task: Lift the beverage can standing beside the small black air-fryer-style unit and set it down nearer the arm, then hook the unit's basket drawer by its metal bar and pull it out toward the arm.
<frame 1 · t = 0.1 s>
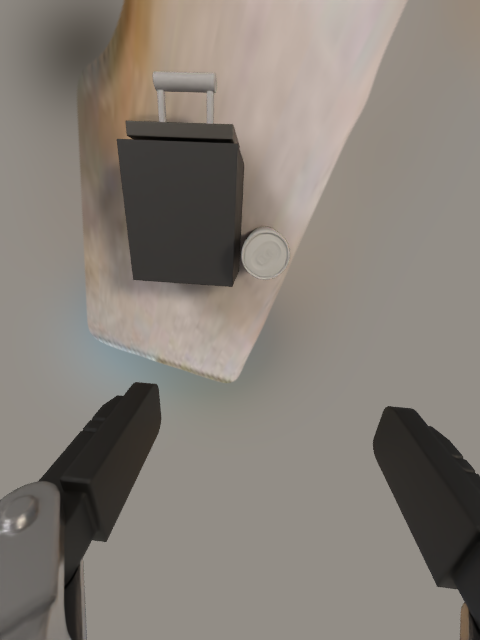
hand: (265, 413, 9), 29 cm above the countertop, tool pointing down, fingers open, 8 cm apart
fryer: (199, 219, 34), on the countertop
basket: (190, 175, 28), point 5 cm above the countertop, slide at 0.5 cm
beverage can: (263, 244, 35), on the countertop
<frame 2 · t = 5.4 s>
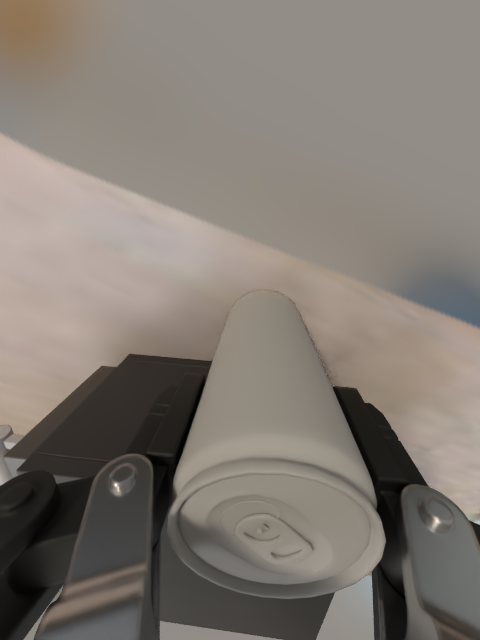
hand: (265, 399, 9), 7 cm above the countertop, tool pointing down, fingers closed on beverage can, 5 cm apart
fryer: (219, 423, 20), on the countertop
basket: (138, 469, 16), point 5 cm above the countertop, slide at 0.5 cm
beverage can: (263, 321, 16), on the countertop, touching gripper
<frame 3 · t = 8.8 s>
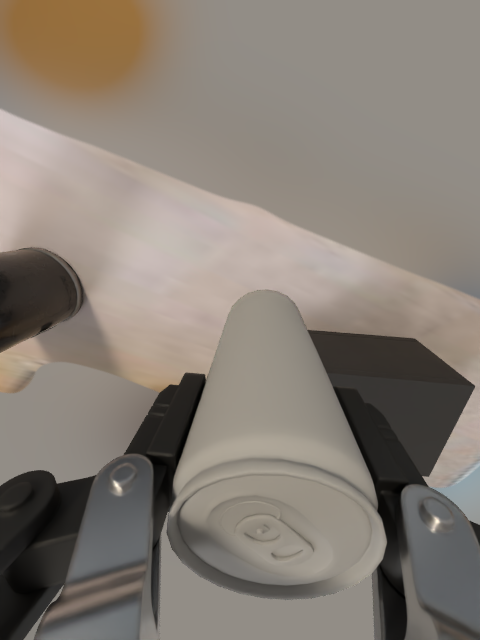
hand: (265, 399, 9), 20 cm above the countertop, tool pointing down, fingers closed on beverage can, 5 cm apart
fryer: (346, 373, 32), on the countertop
beverage can: (264, 321, 16), point 13 cm above the countertop, touching gripper
when the fingers open (7 cm above the countertop, at t = 12.2 s): beverage can stays where it is, on the countertop.
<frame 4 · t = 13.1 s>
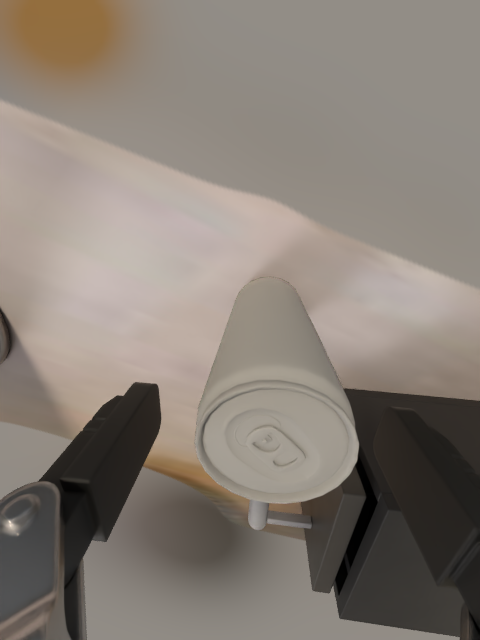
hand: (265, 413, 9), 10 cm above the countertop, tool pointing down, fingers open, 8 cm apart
fryer: (401, 447, 22), on the countertop
basket: (368, 494, 18), point 5 cm above the countertop, slide at 0.5 cm
beverage can: (267, 306, 18), on the countertop
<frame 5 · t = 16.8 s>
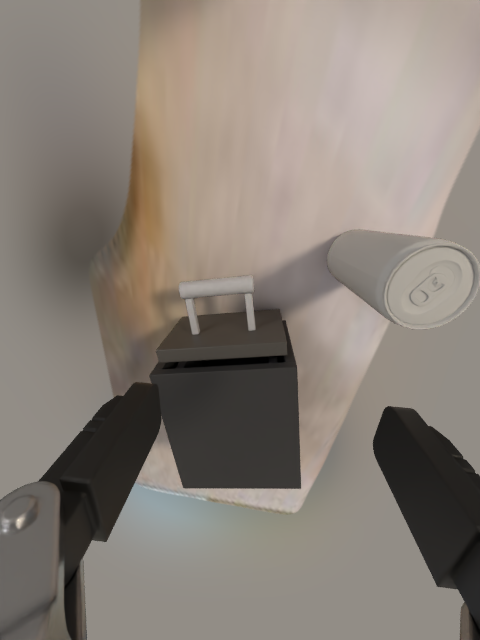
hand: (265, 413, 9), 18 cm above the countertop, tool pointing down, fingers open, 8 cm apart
fryer: (239, 375, 30), on the countertop
basket: (230, 363, 24), point 5 cm above the countertop, slide at 0.5 cm
beverage can: (350, 255, 24), on the countertop
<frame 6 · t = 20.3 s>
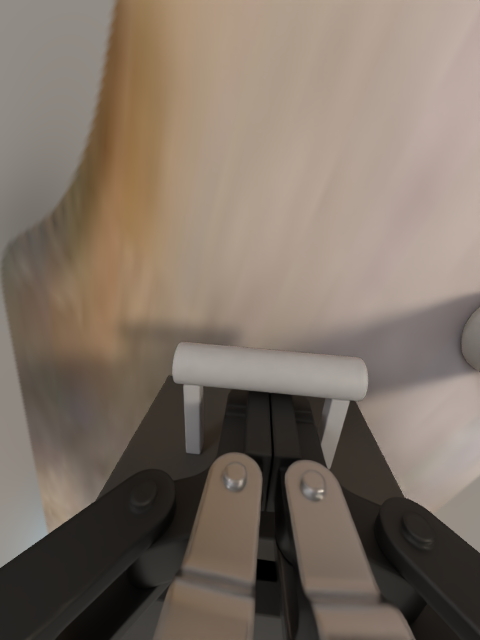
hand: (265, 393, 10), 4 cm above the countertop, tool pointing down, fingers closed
fryer: (248, 472, 18), on the countertop
basket: (250, 494, 12), point 5 cm above the countertop, slide at 0.8 cm, touching gripper
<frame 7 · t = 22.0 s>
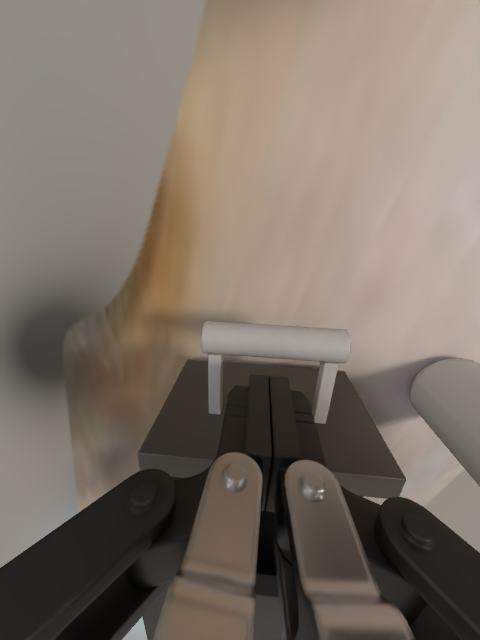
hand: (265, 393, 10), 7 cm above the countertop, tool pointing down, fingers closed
fryer: (252, 492, 22), on the countertop
basket: (260, 455, 14), point 5 cm above the countertop, slide at 6.0 cm
beverage can: (440, 382, 17), on the countertop
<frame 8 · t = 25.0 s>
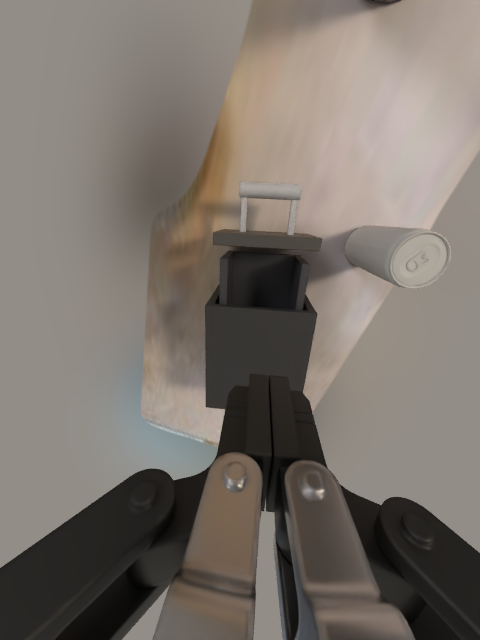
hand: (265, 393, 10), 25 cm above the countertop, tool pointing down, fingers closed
fryer: (256, 331, 36), on the countertop
basket: (263, 268, 28), point 5 cm above the countertop, slide at 6.0 cm
beverage can: (362, 245, 31), on the countertop
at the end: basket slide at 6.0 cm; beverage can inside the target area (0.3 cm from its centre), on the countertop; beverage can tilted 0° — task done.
